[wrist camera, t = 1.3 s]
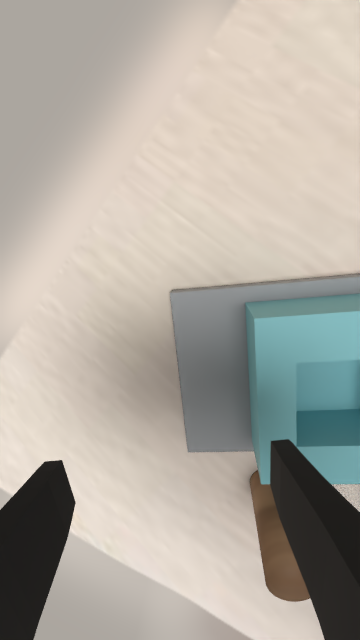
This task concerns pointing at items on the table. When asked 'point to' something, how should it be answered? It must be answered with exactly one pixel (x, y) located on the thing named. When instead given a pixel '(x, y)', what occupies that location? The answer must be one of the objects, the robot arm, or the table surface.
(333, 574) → the robot arm
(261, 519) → the walnut dowel
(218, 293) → the slate board
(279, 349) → the teal block
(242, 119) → the table surface
